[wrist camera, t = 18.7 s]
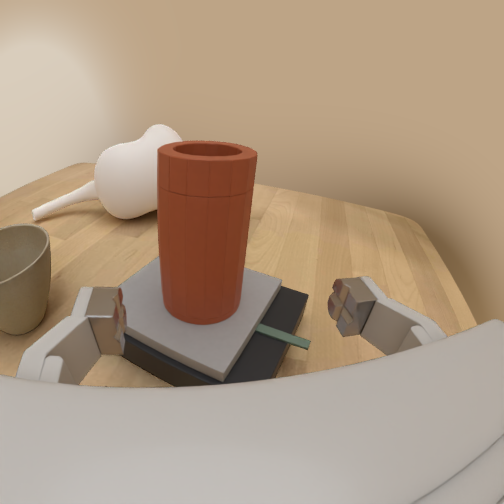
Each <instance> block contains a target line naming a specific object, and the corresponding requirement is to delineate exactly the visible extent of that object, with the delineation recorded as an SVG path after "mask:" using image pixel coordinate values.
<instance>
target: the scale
mask: <svg viewBox="0 0 504 504" xmlns="http://www.w3.org/2000/svg"><path fill="white" fill-rule="evenodd" d="M281 283H282V280H281V279H278V278H275V277H272V276H269V275H266V274H262V273H259V272H256V271H253V270H250V269H247V268H244V273H243V282H242V291H241V299H240V304H239V307H238V309H237V311H236V312H235V313H234V314H233V315H232V316H231V317H229V318H228V319H226V320H224V321H221V322H218V323H214V324H208V325H197V324H190V323H187V322H184V321H181V320H179V319H177V318H175V317H174V316H172V315H171V314H170V313H169V312H168V311H167V309H166V308H165V306H164V303H163V295H162V288H161V275H160V261H159V256H158V257H157V258H155V259H154V260H153V261H151V262H150V263H149V264H147V265H146V266H144V267H143V268H142V269H140V270H139V271H138V272H136V273H135V274H134V275H132V276H131V277H130V278H128V279H127V280H126V281H124V282H123V283H122V284H120V285H119V286H118V287H120V288H121V289H122V293H123V300H122V304H123V305H124V306H125V308H126V315H127V328H126V332H125V333H124V338H125V345H124V354H123V355H121V356H123V357H124V358H126V359H127V360H129V361H131V362H132V363H134V364H136V365H137V366H139V367H141V368H143V369H144V370H146V371H148V372H150V373H151V374H153V375H155V376H157V377H158V378H160V379H162V380H164V381H166V382H168V383H170V384H171V385H173V386H175V387H189V386H206V385H220V384H231V383H241V382H250V381H259V380H266V379H274V378H275V377H276V374H277V372H278V370H279V368H280V366H281V364H282V362H283V359H284V357H285V355H286V353H287V351H288V348H289V346H290V344H291V345H294V346H297V347H300V348H303V349H306V350H308V347H309V344H310V342H311V341H309V340H306V339H303V338H300V337H297V336H294V335H295V333H296V330H297V328H298V326H299V323H300V321H301V319H302V316H303V313H304V310H305V306H306V303H307V299H308V296H309V295H308V294H305V293H301V292H298V291H295V290H292V289H289V288H286V287H283V286H281Z"/></svg>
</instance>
